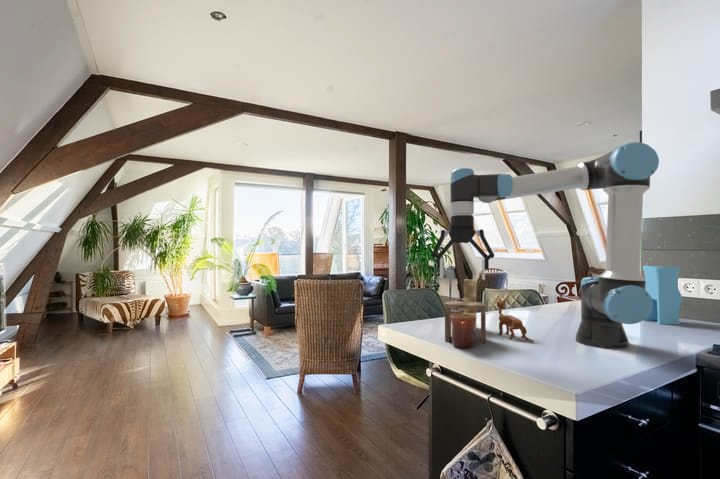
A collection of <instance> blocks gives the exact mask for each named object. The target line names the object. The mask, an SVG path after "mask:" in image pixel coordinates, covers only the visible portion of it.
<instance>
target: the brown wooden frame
mask: <svg viewBox="0 0 720 479" xmlns="http://www.w3.org/2000/svg"><path fill="white" fill-rule="evenodd" d="M452 309H463V310H464V309H476V310H480V344H481V346H482V345H483V346H485V345H486V341H487V336H486V334H487V333H486V331H487V330H486V329H487V328H486V327H487V326H486V302H479V301H478V302H477V301H476V302H464V301H458V300H457V301H455V300H447V301H446V302H445V303H444V341H445V342H450V340H451V339H452V322H451V318H450V315H451V314H452Z"/></svg>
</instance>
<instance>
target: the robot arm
mask: <svg viewBox="0 0 720 479" xmlns="http://www.w3.org/2000/svg"><path fill="white" fill-rule="evenodd" d="M659 163H660V159H659V155H658V153H657V151H656V150H655V149H654V148H653V147H651V146H650V145H649V144H647V143H645V142H639V141H632V142H627V143H625V144H621V145H619V146H617V147H615V148H614V149H613V150H611V151H609V152H607V153H606V154H603V155H601V156H600V157H597V158H594V159H593V160H589V161H585V162H579V163H578V164H577V166H573V167H571V166H570V167H566V168H561V169H559V168H558V169H552V170H547V171H541V172H535V173H529V174H523V175H518V176H517V175H515V176H512V175H511V174H510V173H493V174H475V172H474V169H472V168H466V167H462V168H461V167H459V168H456V169H453V170H452V171H451V172H450V184H449V185H450V215H451V216H450V228H449V230H445V229H441V231H440V237H439V238H438V240H437V243H436V245H435V246H434V248H433V250H432V252H431V257H433V258H435V259H436V269H439V279H443V278H444V258H442V257H443V256H444V255H445V254H446V253H447V252H448V250H450V248H451V247H452V246H453V245H454V244H455V243H456V244H461V243H463V244H468V243H470V244H471V245H472V246H473V247H474V249H475V250H476V251H477V252H478V253H479V254H480V255H481V257H483V259H482V260H481V262H482V265H481V269H482V270H481V271H482V272H481V273H482V274H481V278H482V281H485V280H486V270H489V267H490V265H489V260H490V259H494V257H495V253H494V251H493V249H492V248H491V246H490V244H489V243H488V241H487V238H486V236H485V232H484V231H485V230H483V229H478V230H477V229H475V227H474V226H475V223H474V222H475V217H474V213H475V212H474V210H475V209H474V208H475V205H474V203H475V202H474V201H475V200H474V198H476V199H478V200H479V202H481V203H483V204H484V203H485V204H490V203H492V202H495V201H496V202H497V201H502V200H508V199H516V198H523V197H529V196H535V195H541V194H543V195H544V194H549V193H555V192H560V191H561V192H562V191H570V190H577V189H579V190H580V191H588V190H589V191H590V190H598V189H602V191H603V192H604V193H605V194H607V196H608V198H607V199H608V201H607V222H606V223H607V225H606V246H605V247H606V248H605V265H604V266H605V267H604V271H603V273H601V274H600V275H599V276H587V277H583V278H582V279H581V281H580V286H579V287H580V305H581V306H580V308H581V309H580V311H581V312H580V313H581V314H580V315H581V316H580V317H581V320H580V323H579V325H578V328H577V331H576V334H575V341H576V343H578V344H581V345H583V346H588V347H593V348H599V349H608V350H609V349H610V350H616V349H617V350H619V349H627V348H630V341H629V339H628V338H629V337H628V336H627V334H626V331H625V329H624V326H623V324H625V325H635V324H639V323H641V322H643V320H644V319H646V318H647V317H648V316H649V315H650V313H651V311H652V308H653V301H652V298H651V296H650V295H649V294H648V292H647V291H646V290H645V287H646V279H645V276H644V277H643V276H642V275H641V272H640V270H641V269H640V268H641V249H642V248H641V247H642V246H641V245H642V227H643V226H642V225H643V204H644V202H643V201H644V200H643V199H644V193H646V192H647V191H648V190H650V187H651V176H653V175H654V173H656V171H657V170H658V168H659V165H660V164H659ZM448 235H449V236H450V237H451V238H450V240H449V241H448V242H447V244H446V245H445V246H444V247H443V248H442V250H440V248H441V246H442V244H443V242H444V240H445V238H447V237H448ZM475 235H477V237H480V239H481V241H482V243H483V245H484V247H485V249H486V251H487V252H488V254H487V253H486V252H485V251H484V250H483V249H482V248H481V246H479V244H478V243H477V242H476V241H475V240H474V236H475ZM439 250H440V252H439Z"/></svg>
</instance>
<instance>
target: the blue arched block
mask: <svg viewBox="0 0 720 479" xmlns="http://www.w3.org/2000/svg"><path fill="white" fill-rule="evenodd" d="M642 269H643V273H644V278H645V279H646V287H645V290H646V291H647V292H648V294H649V295H650V296H651V298H652V301H653V308H652V311H651V313H650V315H649V316H648V317H647V318H646V319H644V320H643V321H646V322H648V321H651V322H652V321H657V322H656V325H681V323H680V316H679V314H680V308H681V305H682V302H683V296H682V294H681V292H680V289H679V286H678V279H679V275H680V272H681V271H682V267H680V266H664V265H643V266H642ZM643 321H642V322H643Z"/></svg>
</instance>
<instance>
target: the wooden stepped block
mask: <svg viewBox="0 0 720 479" xmlns="http://www.w3.org/2000/svg"><path fill="white" fill-rule="evenodd" d="M463 302H477V279H466V278H465V279H463ZM462 314H471V315H475V316H477V309H464V308H463V313H462ZM476 330H477V320H476V321H475V326H474V331H475V332H476Z"/></svg>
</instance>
